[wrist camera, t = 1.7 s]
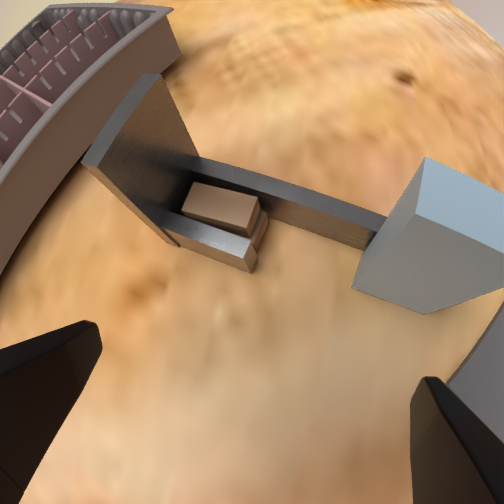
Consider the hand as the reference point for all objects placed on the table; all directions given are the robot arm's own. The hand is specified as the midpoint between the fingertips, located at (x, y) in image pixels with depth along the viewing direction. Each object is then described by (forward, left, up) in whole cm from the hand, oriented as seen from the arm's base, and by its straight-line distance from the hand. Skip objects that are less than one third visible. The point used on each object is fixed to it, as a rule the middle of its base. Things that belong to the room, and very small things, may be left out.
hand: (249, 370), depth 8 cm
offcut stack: (+10, +2, -14) cm, 18 cm away
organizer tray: (+26, +31, -15) cm, 43 cm away
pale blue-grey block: (+4, -9, -14) cm, 17 cm away
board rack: (+7, -4, -14) cm, 16 cm away
